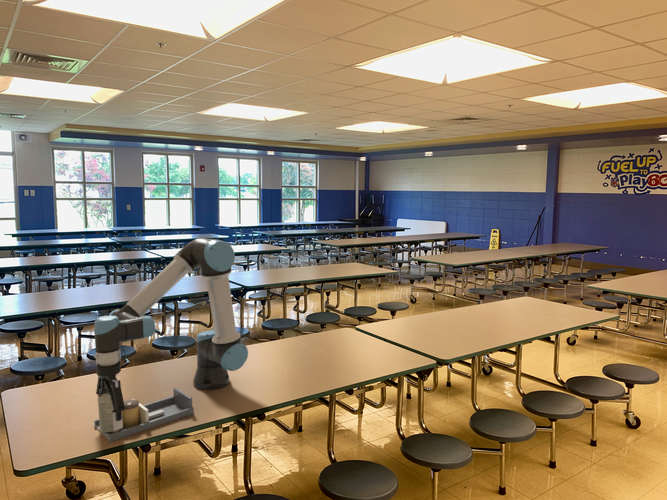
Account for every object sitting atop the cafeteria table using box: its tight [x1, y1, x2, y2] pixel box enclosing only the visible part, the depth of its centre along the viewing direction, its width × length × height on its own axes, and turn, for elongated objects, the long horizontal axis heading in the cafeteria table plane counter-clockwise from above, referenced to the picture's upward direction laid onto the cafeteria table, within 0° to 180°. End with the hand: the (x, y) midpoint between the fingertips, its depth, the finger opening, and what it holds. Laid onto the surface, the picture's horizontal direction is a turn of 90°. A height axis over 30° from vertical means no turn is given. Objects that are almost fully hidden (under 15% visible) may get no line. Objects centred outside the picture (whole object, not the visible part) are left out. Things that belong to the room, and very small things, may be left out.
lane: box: [93, 387, 195, 443], centre depth 171 cm, size 15×30×6 cm, turn 135°
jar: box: [122, 399, 140, 428], centre depth 167 cm, size 6×6×8 cm
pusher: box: [130, 398, 164, 423], centre depth 172 cm, size 12×9×6 cm
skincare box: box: [97, 393, 120, 433], centre depth 162 cm, size 6×4×12 cm
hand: (111, 422), depth 162 cm, fingers open, 12 cm apart
